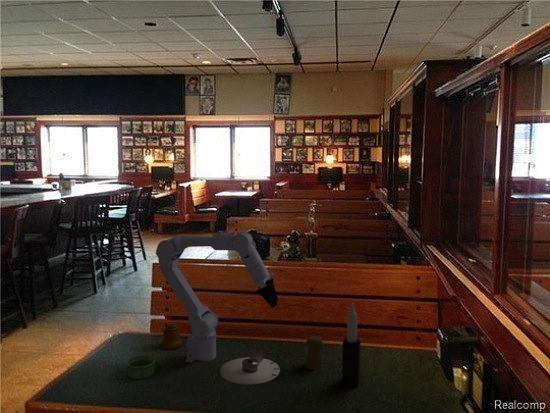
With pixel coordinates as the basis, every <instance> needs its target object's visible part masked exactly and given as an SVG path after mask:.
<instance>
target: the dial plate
mask: <svg viewBox="0 0 550 413" xmlns="http://www.w3.org/2000/svg"><path fill="white" fill-rule="evenodd" d="M250 357H251V356H247V357H238V358H234V359H232V360H229V361H227V362H225V363H224V364H223V365H221V367H220V369H219V374H220V376H221V378H224V379H225V380H227V381H229V382H231V383H234V384H240V385H257V384H263V383H268V382H270V381H272V380H273V379H275V378H277V376H279V374H280V372H281V369H280V365H278V363H276V362H274V361H273V360H270V359H266V358H264V357H263V361H261V362H260V363H259V364H258V370H257V371H255V372H244V371H243V370H242V361H243V360H244V359H248V358H250Z"/></svg>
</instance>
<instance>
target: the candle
mask: <svg viewBox="0 0 550 413" xmlns="http://www.w3.org/2000/svg"><path fill="white" fill-rule="evenodd" d="M354 304H355V303H353V302H352V303H351V304H350V309H349V311H348V312H347V316H346V318H347V319H346V320H347V322H346V338H344V340H343V341H342V350H341V353H342V355H341V359H342V360H341V385H343V386H348V387H353V388H357V387H359V385H360V382H361V351H362V350H361V349H362V348H361V346H362V343H361V342H362V341H361V340H359V339H358V335H357V334H358V332H357V331H358V313H357V312H356V310H355V307H354Z"/></svg>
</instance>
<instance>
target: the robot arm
mask: <svg viewBox="0 0 550 413" xmlns="http://www.w3.org/2000/svg"><path fill="white" fill-rule="evenodd" d="M194 247H195V248H196V247H197V248H198V247H200V248H201V247H211V248H212V249H213V251H230V252H231V251H234V252H236V253H238V255H239V257H240V259H241V260H242V263H243V265H244V267H245V269H246V270H247V273H248V275H249V276H250V278H251V280H252V281H253V285H254V286H258V289H257V290H256V293H257V295H259V296H261V297H262V298H263V299H264V301H265V302H266V303H267V304H268V305H269V306H270V308H272V309H273V308H274V307H275V308H276V306H278V301H279V298H278V294H277V291H276V288H275V283H274V278H271V277H273V276H274V275H275V274H274V272H272V273H270V272H269V270H268V269H267V266H266V265H265V263H264V261H263V260H262V258H261V255H260V254H259V252H258V250H257V249H256V246H255V245H254V238H253V236H252V235H251V234H250V233H249V232H247V231H240V232H238V233H237V231H232V232H224V231H222V230H219V231H217V232H214V234H212V236H208V235H207V236H205V235H201V236H200V235H189V234H186V235H179V236H178V235H176V236H175V235H174V236H172V237H171V238H168V239H165V240H161V241H160V242H159V243H158V244H157V246H156V250H155V255H156V257H157V259H158V260H157V261H158V266H159V270H160V272H161V274H162V276H163V277H164V279H165V280H166V282H167V283H168V285H169V286H170V288H171V289H172V291H173V292H174V295H175V296H176V297H177V299H178V300H179V302H180V303H181V305H182V306H183V308H184V310H185V311H186V312H187V314H188V323H189V325H190V328H191V333H189V335H188V337H187V341H186V360H185V362H186V363H189V364H190V363H191V364H192V363H194V361H196V360H197V361H201V362H207V361H213V360H214V359H215V358H217V332H216V328H217V327H218V324H219V318H218V315H216V314H215V313H214V312H213V311H212V310H210V308H209V307H208V306H206V305H203V303H202V302H201V301H200V299H199V297H198V296H197V294H196V293H195V291H194V290H193V289H192V287H191V286H190V284H189V282H188V281H187V279H186V278H185V277H184V275H183V273H182V272H181V270H180V268H179V267H178V266H179V265H178V264H179V261H180V258H181V256H182V254H183V253H184V251H185V249H188V248H194Z"/></svg>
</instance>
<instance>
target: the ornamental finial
mask: <svg viewBox="0 0 550 413" xmlns="http://www.w3.org/2000/svg"><path fill="white" fill-rule="evenodd" d="M162 332H163V335H162V336H163V339H162V340H161V342H160V343H161V344H160V345H161V348H162V349H164V350H166V351H167V350H169V351H173V350H177V349H179V348H181V347H182V345H183V340H182V339H181V336H180V335H181V334H180V327H178V326H177V325H176V324H173V323H169V324H168V325H167V326H165V327H164V328H163V331H162Z"/></svg>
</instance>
